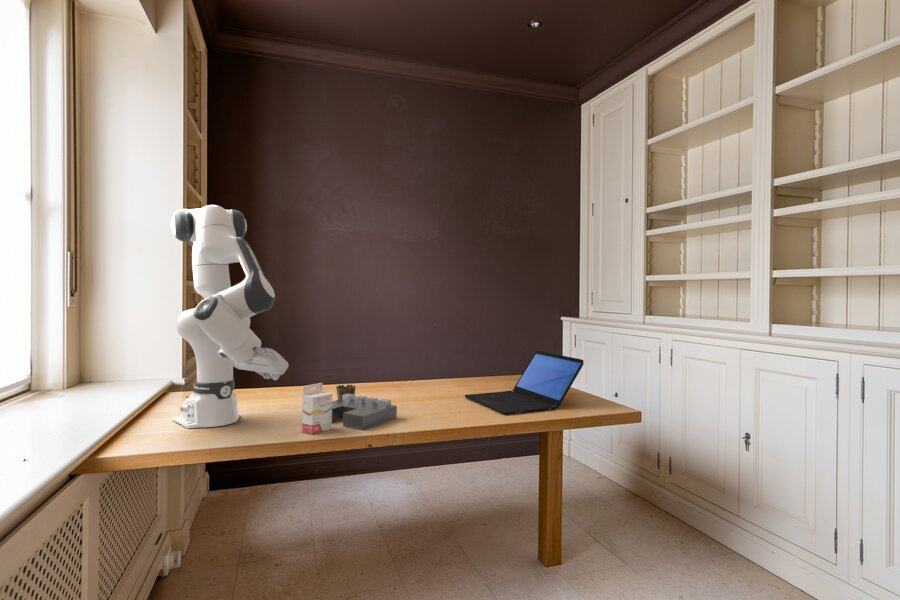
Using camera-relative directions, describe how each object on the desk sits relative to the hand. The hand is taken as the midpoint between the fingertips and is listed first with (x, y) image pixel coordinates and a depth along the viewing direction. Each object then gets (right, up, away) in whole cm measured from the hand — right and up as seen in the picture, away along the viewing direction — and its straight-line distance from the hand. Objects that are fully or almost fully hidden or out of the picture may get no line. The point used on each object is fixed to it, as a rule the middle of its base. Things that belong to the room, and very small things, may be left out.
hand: (272, 377), depth 140 cm
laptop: (+81, -20, +59) cm, 103 cm away
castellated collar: (+18, -19, +30) cm, 40 cm away
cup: (+11, -19, +49) cm, 54 cm away
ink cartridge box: (+9, -20, +15) cm, 26 cm away
